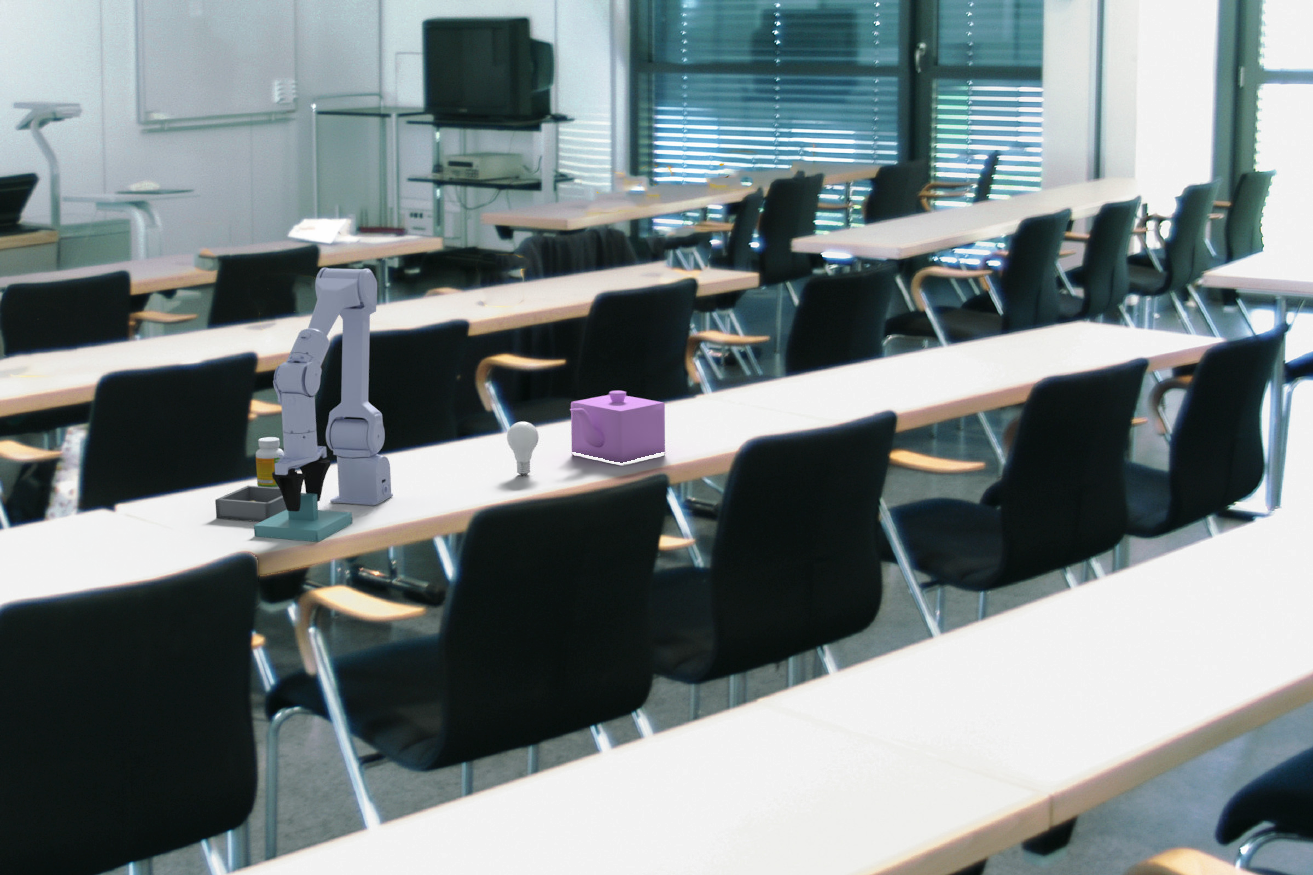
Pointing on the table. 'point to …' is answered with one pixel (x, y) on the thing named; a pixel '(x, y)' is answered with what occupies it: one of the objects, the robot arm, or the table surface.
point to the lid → (304, 522)
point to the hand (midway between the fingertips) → (303, 505)
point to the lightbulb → (522, 444)
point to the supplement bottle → (267, 461)
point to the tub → (250, 504)
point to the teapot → (618, 427)
